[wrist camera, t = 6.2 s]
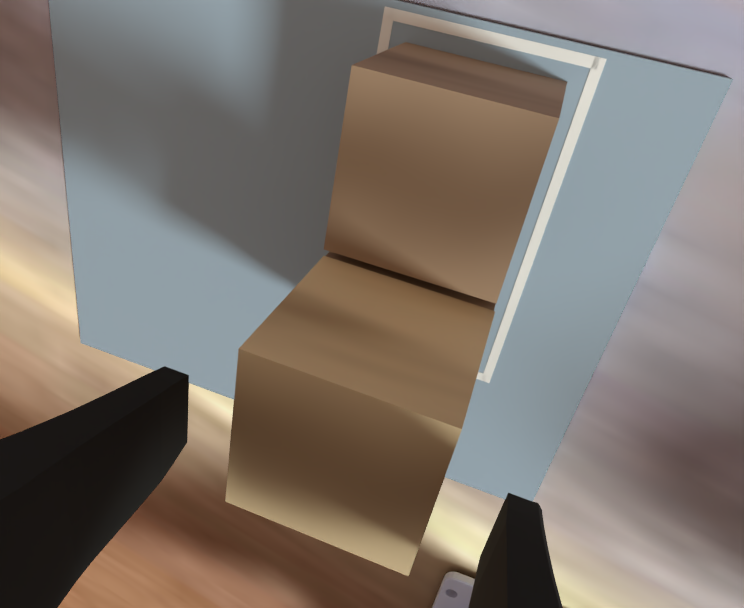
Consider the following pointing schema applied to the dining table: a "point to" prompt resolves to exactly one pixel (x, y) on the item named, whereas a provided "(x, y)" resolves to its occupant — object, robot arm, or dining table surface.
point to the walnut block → (440, 165)
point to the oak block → (354, 409)
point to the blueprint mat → (315, 185)
